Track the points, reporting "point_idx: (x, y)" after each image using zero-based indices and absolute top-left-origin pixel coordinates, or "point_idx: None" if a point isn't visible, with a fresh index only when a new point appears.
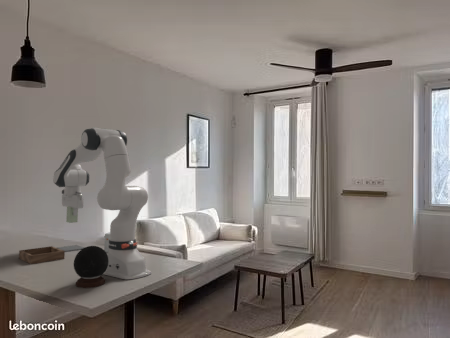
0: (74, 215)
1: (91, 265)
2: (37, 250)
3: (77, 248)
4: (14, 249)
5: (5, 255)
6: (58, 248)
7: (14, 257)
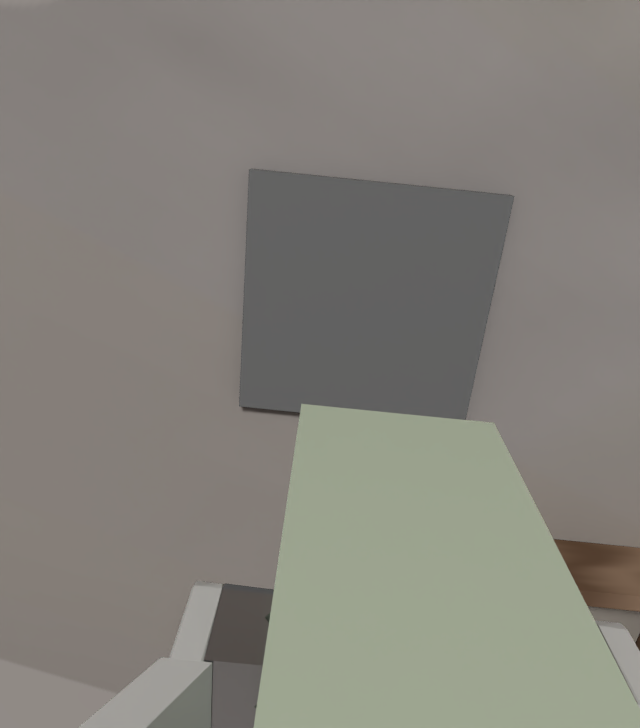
0: None
1: None
2: None
3: (460, 284)
4: (34, 618)
5: None
6: (296, 411)
7: None
